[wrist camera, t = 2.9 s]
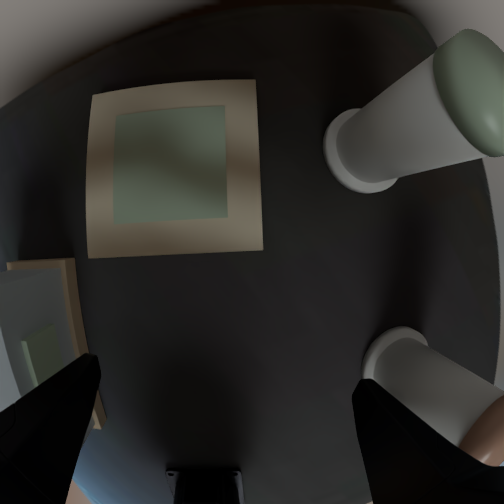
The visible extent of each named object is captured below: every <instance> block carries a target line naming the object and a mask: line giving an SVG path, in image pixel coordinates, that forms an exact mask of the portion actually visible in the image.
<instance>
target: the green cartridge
mask: <svg viewBox="0 0 504 504" xmlns="http://www.w3.org/2000/svg"><path fill="white" fill-rule="evenodd" d="M323 155H324V159H325V162H326V164H327V167H328V169H329V170H330V172H331V173H332V175H333V176H334V177H335V179H336V180H337V181H338V182H339V183H340V184H342V185H343V186H344V187H346V188H348V189H350V190H352V191H354V192H358V193H364V194H368V193H374V192H379V191H383V190H385V189H387V188H389V187H390V186H392V185H393V184H394V183H395V182H396V181H397V179H398V178H399V177H402V176H406V175H410V174H415V173H419V172H423V171H427V170H431V169H435V168H439V167H444V166H448V165H452V164H456V163H461V162H465V161H470V160H474V159H478V158H483V157H487V156H489V157H500V156H504V52H503V51H502V50H501V49H500V48H499V47H498V46H497V45H496V44H495V43H494V42H493V41H492V40H490V39H489V38H488V37H486V36H485V35H483V34H482V33H480V32H478V31H475V30H472V29H464V30H462V31H460V32H459V33H457V34H456V35H455V36H453V37H452V38H450V39H449V40H448V41H446V42H445V43H444V44H442V45H441V46H439V47H438V48H437V50H436V51H435V53H434V54H433V55H431V56H430V57H429V58H427V59H426V60H424V61H423V62H422V63H420V64H419V65H418V66H416V67H415V68H414V69H412V70H411V71H410V72H408V73H407V74H406V75H404V76H403V77H402V78H400V79H399V80H398V81H396V82H395V83H394V84H392V85H391V86H390V87H389V88H387V89H386V90H385V91H383V92H382V93H381V94H380V95H378V96H377V97H376V98H374V99H373V100H372V101H371V102H369V103H368V104H367V105H365V106H364V107H363V108H362V109H351V110H347V111H345V112H343V113H341V114H340V115H339V116H338V117H336V118H335V119H334V120H333V121H332V122H331V123H330V124H329V126H328V127H327V129H326V131H325V134H324V137H323Z"/></svg>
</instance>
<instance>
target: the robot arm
mask: <svg viewBox="0 0 504 504" xmlns="http://www.w3.org/2000/svg"><path fill="white" fill-rule="evenodd" d="M100 379H101V370H100V366H99V361H98V357H97V356H96V355H94V354H90V353H84V354H83V355H81V356H80V357H78V358H77V359H75V360H74V361H72V362H71V363H70V364H68V365H67V366H65V367H64V368H62V369H61V370H60V371H58V372H57V373H55V374H54V375H52V376H51V377H50V378H48V379H47V380H45V381H44V382H42V383H41V384H40V385H38V386H37V387H35V388H34V389H32V390H31V391H30V392H28V393H27V394H25V395H24V396H23V397H21V398H20V399H18V400H17V401H15V403H13V404H11V405H10V406H8V407H7V408H5V409H4V410H2V411H1V412H0V504H65V503H66V499H67V495H68V491H69V487H70V484H71V480H72V477H73V473H74V470H75V466H76V463H77V460H78V456H79V453H80V450H81V447H82V444H83V440H84V437H85V434H86V431H87V428H88V425H89V423H90V420H91V416H92V413H93V409H94V404H95V400H96V395H97V391H98V387H99V383H100ZM352 404H353V411H354V418H355V425H356V432H357V437H358V441H359V445H360V449H361V453H362V457H363V461H364V465H365V469H366V474H367V478H368V482H369V487H370V491H371V496H372V500H373V504H504V466H490V465H486V464H484V463H482V462H480V461H479V460H477V459H476V458H474V457H472V456H471V455H469V454H468V453H466V452H464V451H463V450H461V449H460V448H458V447H457V446H455V445H454V444H453V443H451V442H450V441H449V440H447V439H446V438H445V437H443V436H442V435H441V434H440V433H438V432H436V430H434V429H433V428H432V427H431V426H429V425H428V424H427V423H426V422H425V421H423V420H422V419H421V418H420V417H418V416H417V415H416V414H415V413H413V412H412V411H411V410H410V409H408V408H407V407H406V406H405V405H404V404H402V403H401V402H400V401H399V400H397V399H396V398H395V397H394V396H393V395H391V394H390V393H389V392H388V391H387V390H385V389H384V388H383V387H382V386H380V385H379V384H378V383H377V382H376V381H374V380H373V379H371V378H366V379H361V380H360V381H359V383H358V385H357V386H356V388H355V390H354V392H353V394H352ZM235 472H236V473H235ZM165 475H166V478H167V481H168V483H169V486H170V489H171V492H172V495H173V497H174V503H173V504H244V496H243V487H242V477H241V470H240V469H239V468H217V469H179V468H168V469H166V472H165Z"/></svg>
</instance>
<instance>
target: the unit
mask: <svg viewBox="0 0 504 504" xmlns="http://www.w3.org/2000/svg"><path fill="white" fill-rule="evenodd" d="M7 270H8V271H4V272H0V412H1V411H2V410H4V409H5V408H7V407H8V406H10V405H11V404H13V403H15V401H17V400H18V399H20V398H21V397H23V396H24V395H25V394H27V393H28V392H30V391H31V390H32V389H34V388H35V387H37V386H38V385H40V384H41V383H42V382H44V381H45V380H47V379H48V378H50V377H51V376H52V375H54V374H55V373H57V372H58V371H60V370H61V369H62V368H64V367H65V366H67V365H68V364H70V363H71V362H72V361H74V360H75V359H77V358H78V357H80V356H81V355H83V354H84V353H89V351H88V346H87V341H86V336H85V331H84V325H83V319H82V313H81V307H80V300H79V293H78V285H77V276H76V266H75V258H60V259H41V260H22V261H14V262H9V263H7ZM106 420H107V418H106V415H105V412H104V408H103V405H102V402H101V398H100V395H99V391H97V395H96V400H95V404H94V409H93V413H92V416H91V420H90V423H89V425H88V428H87V431H86V434H85V437H84V440H83V444H84V442H85V441H86V439H87V437H88V435H89V434H90V432H91V430H92V428H96V429H102V427H103V425H104V423H105V422H106ZM83 444H82V446H83ZM81 448H82V447H81Z"/></svg>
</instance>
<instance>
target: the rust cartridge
mask: <svg viewBox="0 0 504 504" xmlns="http://www.w3.org/2000/svg"><path fill="white" fill-rule="evenodd" d="M361 377H362V379H366V378H371V379H373V380H374V381H376V382H377V383H378V384H379V385H380V386H382V387H383V388H384V389H385V390H387V391H388V392H389V393H390V394H391V395H393V396H394V397H395V398H396V399H397V400H399V401H400V402H401V403H402V404H404V405H405V406H406V407H407V408H408V409H410V410H411V411H412V412H413V413H415V414H416V415H417V416H418V417H420V418H421V419H422V420H423V421H425V422H426V423H427V424H428V425H429V426H431V427H432V428H433V429H434V430H436V432H438V433H440V434H441V435H442V436H443V437H445V438H446V439H447V440H449V441H450V442H451V443H453V444H454V445H455V446H457V447H458V448H460V449H461V450H463V451H464V452H466V453H468V454H469V455H471V456H472V457H474V458H476V459H477V460H479V461H480V462H482V463H484V464H486V465H490V466H499V465H500V464H501V463H502V462H503V461H504V391H502V390H501V389H499V388H497V387H496V386H494V385H492V384H491V383H489V382H487V381H485V380H484V379H482V378H480V377H479V376H477V375H475V374H474V373H472V372H470V371H469V370H467V369H465V368H463V367H462V366H460V365H458V364H457V363H455V362H453V361H452V360H450V359H448V358H446V357H445V356H443V355H441V354H440V353H438V352H436V351H435V350H433V349H431V348H429V347H428V345H427V341H426V339H425V338H424V336H423V335H422V334H421V333H419V332H417V331H416V330H414V329H412V328H410V327H406V326H398V327H394V328H391V329H389V330H387V331H385V332H384V333H382V334H381V335H380V336H378V337H377V338H376V339H375V340H374V341H373V343H372V344H371V345H370V347H369V348H368V350H367V352H366V353H365V356H364V358H363V361H362V365H361Z"/></svg>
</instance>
